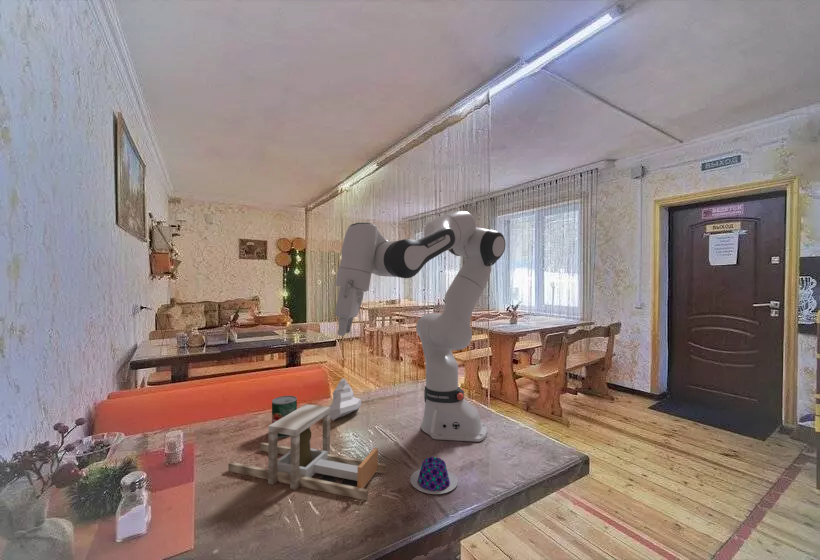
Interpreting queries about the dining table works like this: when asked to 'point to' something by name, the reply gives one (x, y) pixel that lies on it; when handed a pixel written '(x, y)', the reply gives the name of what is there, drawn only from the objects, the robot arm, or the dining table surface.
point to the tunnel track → (293, 427)
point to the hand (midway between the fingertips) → (343, 334)
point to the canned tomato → (283, 409)
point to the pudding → (433, 477)
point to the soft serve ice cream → (343, 401)
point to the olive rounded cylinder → (305, 448)
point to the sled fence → (334, 467)
